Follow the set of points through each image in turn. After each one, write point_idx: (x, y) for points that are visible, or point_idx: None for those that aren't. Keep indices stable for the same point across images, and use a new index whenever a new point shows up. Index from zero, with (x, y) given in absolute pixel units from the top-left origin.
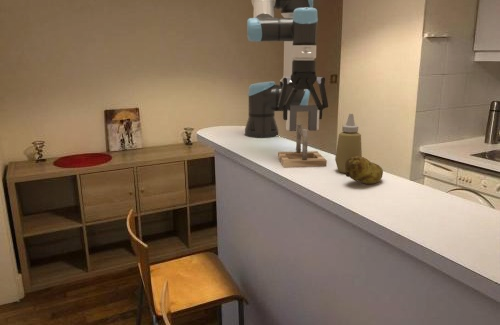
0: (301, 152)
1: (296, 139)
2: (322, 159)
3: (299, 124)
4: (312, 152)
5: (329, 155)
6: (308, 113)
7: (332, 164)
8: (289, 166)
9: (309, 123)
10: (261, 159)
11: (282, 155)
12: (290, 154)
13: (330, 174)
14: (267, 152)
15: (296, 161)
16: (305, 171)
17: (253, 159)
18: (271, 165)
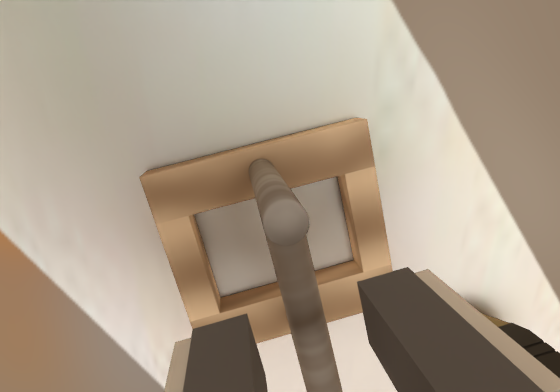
0: (279, 166)
1: (254, 193)
2: None
3: (290, 232)
4: (340, 156)
5: (423, 80)
6: (422, 375)
7: (414, 253)
8: None
9: (387, 359)
10: (62, 222)
11: (178, 250)
12: (219, 205)
13: (388, 387)
14: (53, 45)
15: (260, 341)
16: (298, 372)
17: (16, 229)
18: (141, 319)
